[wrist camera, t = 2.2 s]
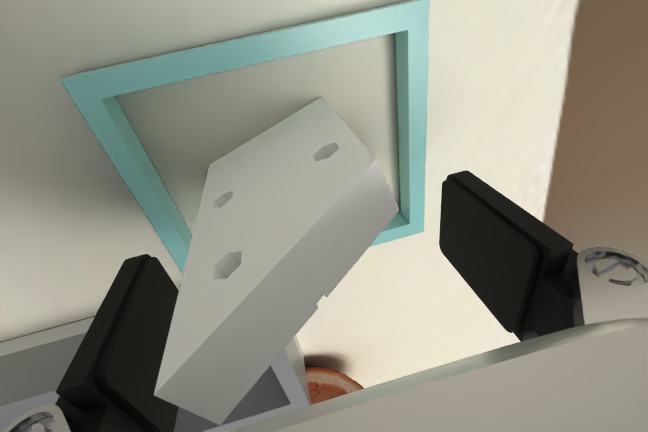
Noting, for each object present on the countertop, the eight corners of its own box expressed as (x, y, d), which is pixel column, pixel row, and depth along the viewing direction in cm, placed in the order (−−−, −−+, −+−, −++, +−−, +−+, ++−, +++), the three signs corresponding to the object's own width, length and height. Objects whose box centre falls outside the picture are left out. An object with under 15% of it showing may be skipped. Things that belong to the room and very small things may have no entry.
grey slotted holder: (-80, 364, 16) (-234, 531, 11) (269, 268, 18) (279, 376, 12) (39, 430, 21) (-27, 565, 16) (302, 352, 23) (318, 454, 18)
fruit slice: (361, 342, 24) (384, 410, 20) (357, 387, 28) (376, 452, 23) (251, 364, 22) (252, 442, 18) (263, 408, 26) (266, 481, 22)
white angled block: (111, 246, 12) (153, 394, 5) (286, 100, 15) (448, 82, 9) (178, 295, 14) (267, 446, 8) (320, 158, 17) (471, 180, 11)
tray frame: (76, 73, 11) (59, 79, 10) (414, -1, 12) (429, -2, 11) (198, 278, 17) (196, 294, 16) (413, 219, 18) (423, 231, 17)
